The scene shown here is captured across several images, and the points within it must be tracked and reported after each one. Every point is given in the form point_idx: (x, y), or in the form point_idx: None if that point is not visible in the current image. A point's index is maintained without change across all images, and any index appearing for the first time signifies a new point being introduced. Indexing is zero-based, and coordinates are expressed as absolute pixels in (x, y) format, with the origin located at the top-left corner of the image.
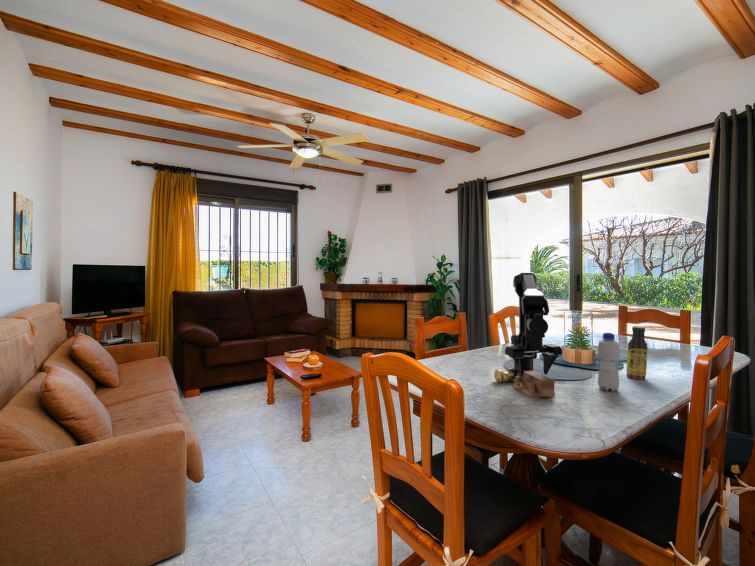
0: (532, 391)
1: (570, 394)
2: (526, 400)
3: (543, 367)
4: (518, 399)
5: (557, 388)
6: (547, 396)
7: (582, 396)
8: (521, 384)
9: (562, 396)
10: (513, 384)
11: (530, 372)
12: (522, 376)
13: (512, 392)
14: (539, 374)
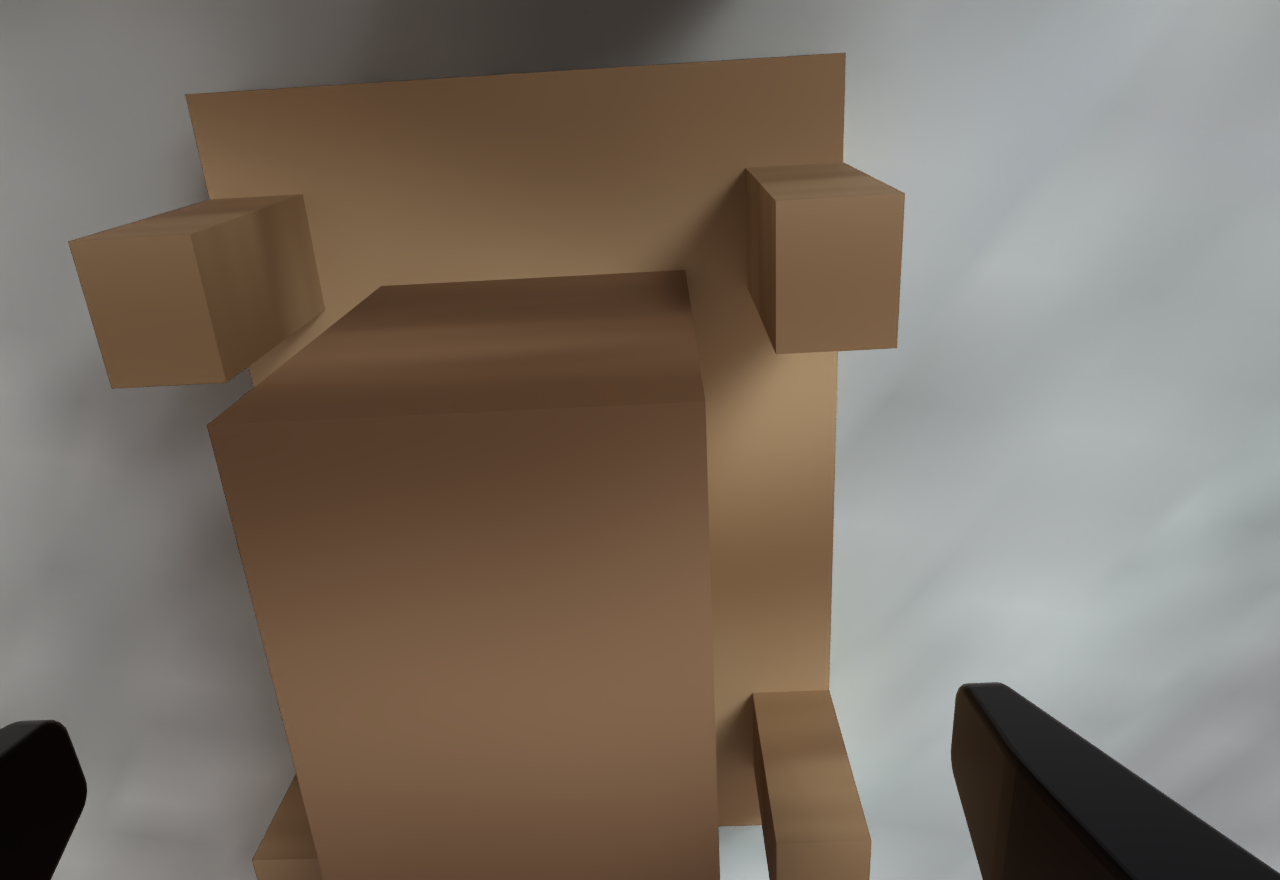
0: None
1: (1163, 740)
2: (214, 852)
3: (1062, 830)
4: (92, 800)
5: (1228, 397)
6: None
7: (1275, 844)
8: (380, 234)
9: (937, 797)
10: (200, 101)
11: (472, 628)
12: (294, 367)
13: (84, 475)
14: (658, 870)
